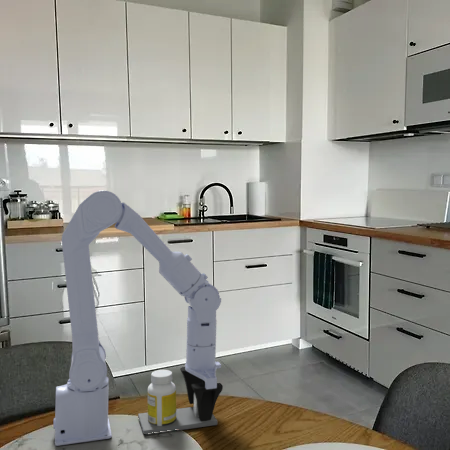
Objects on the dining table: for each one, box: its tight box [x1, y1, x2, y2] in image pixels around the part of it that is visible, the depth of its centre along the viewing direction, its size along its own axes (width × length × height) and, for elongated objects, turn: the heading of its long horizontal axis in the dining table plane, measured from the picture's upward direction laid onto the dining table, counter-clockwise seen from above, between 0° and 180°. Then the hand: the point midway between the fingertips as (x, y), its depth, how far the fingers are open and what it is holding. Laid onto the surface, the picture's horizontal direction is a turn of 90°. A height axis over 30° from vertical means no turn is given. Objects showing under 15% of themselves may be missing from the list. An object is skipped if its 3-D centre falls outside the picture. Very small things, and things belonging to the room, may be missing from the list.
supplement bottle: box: [147, 369, 177, 426], centre depth 86 cm, size 5×5×10 cm
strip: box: [137, 393, 218, 435], centre depth 87 cm, size 14×7×5 cm, turn 109°
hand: (199, 411), depth 88 cm, fingers open, 7 cm apart
